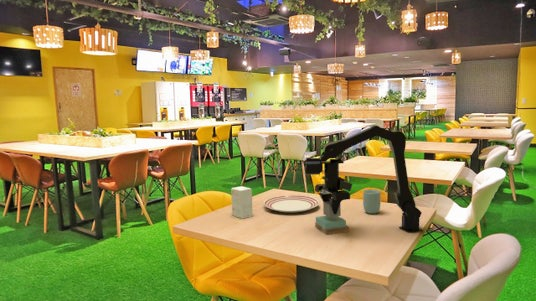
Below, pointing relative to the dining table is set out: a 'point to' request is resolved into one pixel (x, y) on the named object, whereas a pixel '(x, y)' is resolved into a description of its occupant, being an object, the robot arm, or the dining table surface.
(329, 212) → the grey cube
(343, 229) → the tower bottom
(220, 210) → the dining table surface
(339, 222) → the tower top
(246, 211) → the small box
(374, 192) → the cup
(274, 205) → the dinner plate
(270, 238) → the dining table surface
